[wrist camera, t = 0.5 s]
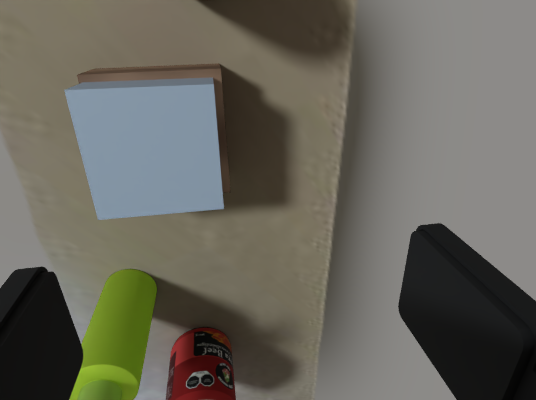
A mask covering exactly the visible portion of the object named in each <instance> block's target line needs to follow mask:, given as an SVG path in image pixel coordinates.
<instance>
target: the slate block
mask: <svg viewBox="0 0 536 400" xmlns="http://www.w3.org/2000/svg"><path fill="white" fill-rule="evenodd" d="M64 91H65V94H66V98H67V102H68V106H69V110H70V114H71V117H72V121H73V125H74V129H75V133H76V137H77V141H78V144H79V148H80V152H81V156H82V160H83V164H84V167H85V171H86V175H87V179H88V183H89V187H90V191H91V194H92V198H93V202H94V206H95V210H96V214H97V217H98V220H102V219H113V218H125V217H136V216H148V215H159V214H171V213H182V212H194V211H205V210H216V209H224V204H223V192H222V180H221V168H220V155H219V143H218V131H217V118H216V106H215V94H214V83H213V77H212V78H186V79H159V80H133V81H106V82H82V83H80V84H78V85H75V86H73V87H71V88H68V89H66V90H64Z"/></svg>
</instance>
